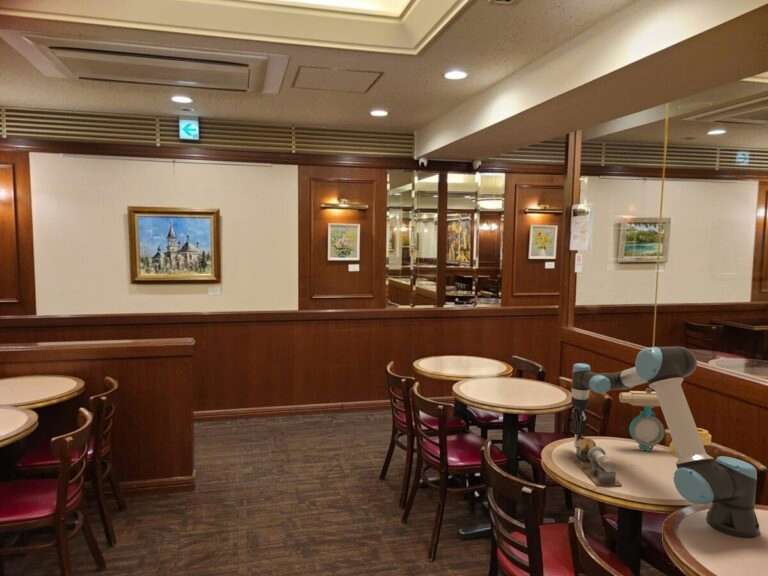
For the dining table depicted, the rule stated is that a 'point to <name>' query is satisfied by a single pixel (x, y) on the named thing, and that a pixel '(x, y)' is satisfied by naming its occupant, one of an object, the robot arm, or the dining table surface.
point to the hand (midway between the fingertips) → (577, 447)
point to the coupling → (584, 448)
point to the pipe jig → (598, 468)
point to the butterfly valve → (644, 418)
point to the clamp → (703, 435)
